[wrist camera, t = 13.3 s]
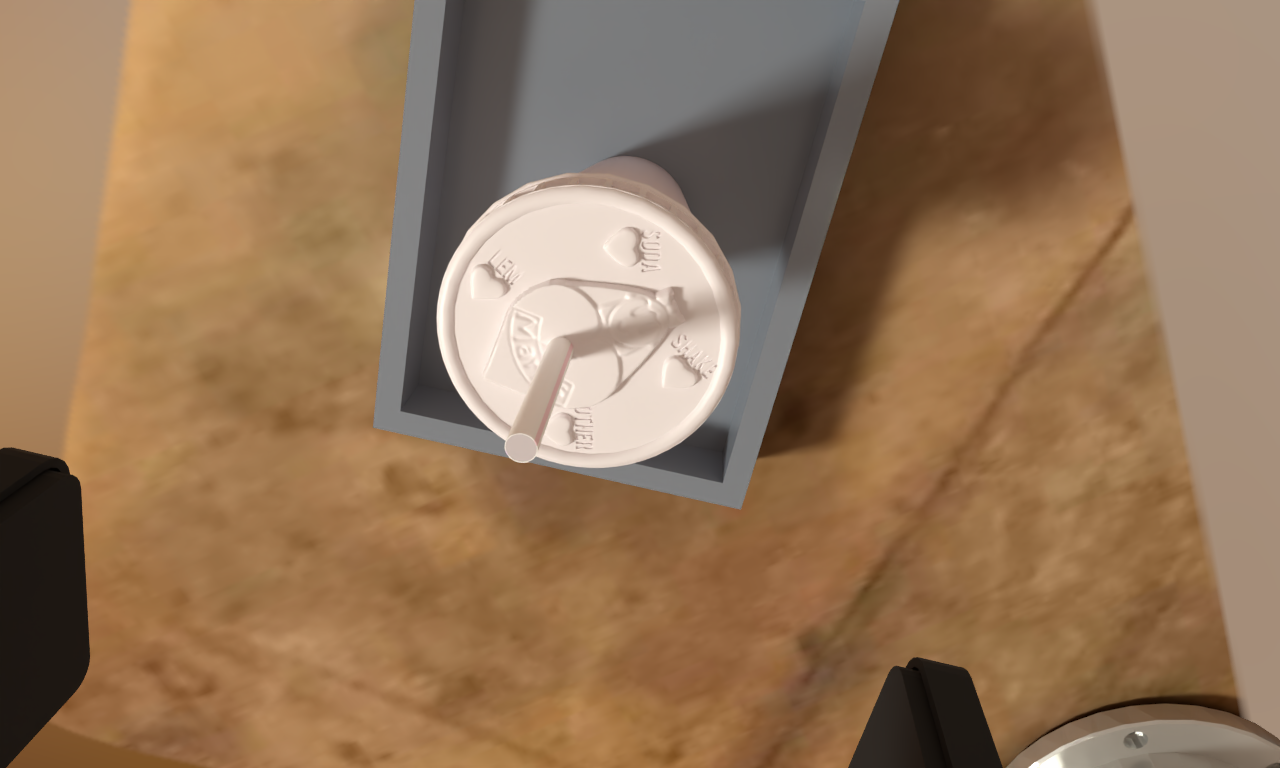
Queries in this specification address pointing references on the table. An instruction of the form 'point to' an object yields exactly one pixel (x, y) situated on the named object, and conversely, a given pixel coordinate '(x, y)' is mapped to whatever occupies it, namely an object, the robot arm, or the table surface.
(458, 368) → the smoothie
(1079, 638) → the table surface
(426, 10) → the grey tray
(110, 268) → the table surface
